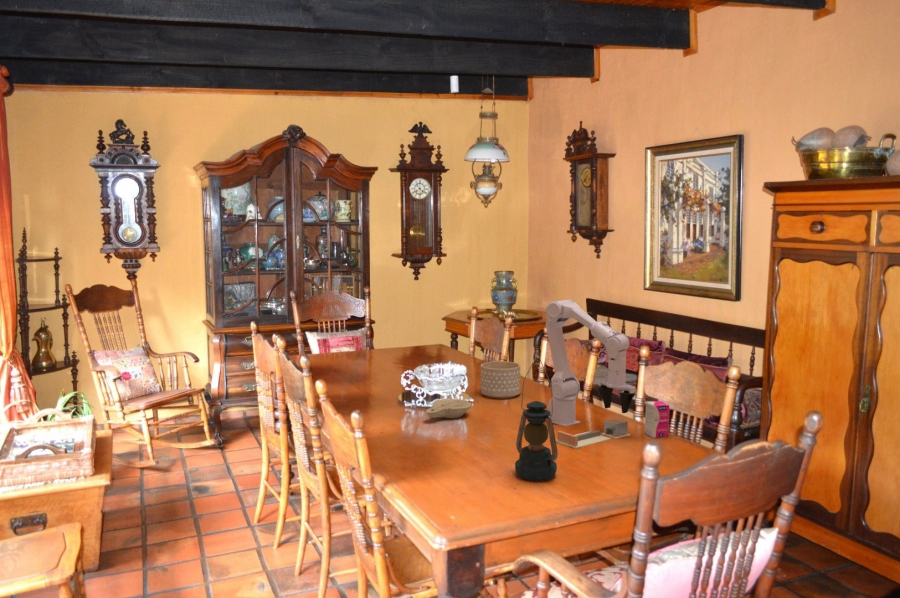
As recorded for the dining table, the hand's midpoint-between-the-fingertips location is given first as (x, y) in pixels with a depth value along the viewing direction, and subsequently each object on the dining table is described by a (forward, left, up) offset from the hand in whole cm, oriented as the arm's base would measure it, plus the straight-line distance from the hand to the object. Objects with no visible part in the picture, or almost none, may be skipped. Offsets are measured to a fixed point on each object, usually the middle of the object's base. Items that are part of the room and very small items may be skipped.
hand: (616, 410), depth 247 cm
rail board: (-2, -13, -9) cm, 16 cm away
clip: (0, 0, -8) cm, 8 cm away
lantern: (+13, -48, -9) cm, 51 cm away
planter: (-67, +5, -9) cm, 68 cm away
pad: (0, 0, -9) cm, 9 cm away
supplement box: (+9, +10, -9) cm, 16 cm away
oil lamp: (-52, -33, -9) cm, 62 cm away
